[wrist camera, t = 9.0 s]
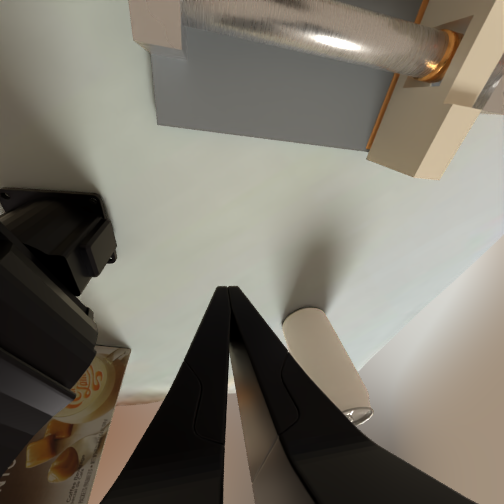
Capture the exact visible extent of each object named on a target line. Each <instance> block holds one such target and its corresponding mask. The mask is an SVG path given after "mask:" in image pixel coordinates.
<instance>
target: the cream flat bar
mask: <svg viewBox="0 0 504 504" xmlns="http://www.w3.org/2000/svg"><path fill="white" fill-rule="evenodd" d="M420 25H423V26H427V27H430V28H434V29H437V30H441V29H448V30H451V31H455V32H458V33H462V34H464V36H463V38H462V40H461V42H460V44H459V47H458V49H457V51H456V53H455V55H454V57H453V59H452V61H451V63H450V65H449V67H448V69H447V71H446V73H445V75H444V77H443V79H442V81H441V83H440V86H434V87H430V86H431V84H432V83H427V82H423V81H418V80H415V79H414V78H413V77H411V76H406V75H402V74H400V75H399V78H398V80H397V83H396V85H395V88H394V91H393V93H392V96H391V98H390V101H389V103H388V106H387V108H386V111H385V113H384V116H383V118H382V121H381V123H380V126H379V128H378V131H377V133H376V136H375V138H374V141H373V143H372V146H371V148H370V151H369V153H368V156H367V158H366V159H367V160H369V161H372V162H375V163H377V164H380V165H382V166H385V167H388V168H390V169H393V170H396V171H398V172H401V173H403V174H406V175H409V176H411V177H414V178H424V179H433V180H440V178H441V176H442V175H443V173H444V171H445V170H446V168H447V167H448V165H449V163H450V162H451V160H452V158H453V157H454V155H455V153H456V152H457V150H458V148H459V147H460V145H461V143H462V142H463V140H464V138H465V137H466V135H467V133H468V132H469V130H470V128H471V127H472V125H473V123H474V122H475V120H476V118H477V117H478V115H479V113H480V112H481V110H480V109H475V108H472V107H473V105H474V103H475V101H476V100H477V98H478V96H479V94H480V93H481V91H482V89H483V88H484V86H485V84H486V82H487V81H488V79H489V77H490V75H491V74H492V72H493V70H494V69H495V67H496V65H497V63H498V62H499V60H500V58H501V56H502V55H503V53H504V0H429V2H428V5H427V7H426V10H425V13H424V15H423V18H422V20H421V23H420Z"/></svg>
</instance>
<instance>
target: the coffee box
mask: <svg viewBox="0 0 504 504" xmlns="http://www.w3.org/2000/svg"><path fill="white" fill-rule="evenodd" d="M94 349H96V351H97V353H96V356H95V358H94V359H93V361H92V363H91V365H90V367H89V368H88V369H87V371H86V372H85V373H84V375H83V376H82V377H81V378H80V380H79V381H78V382H77V384H76V385H75V386H74V387H73V388H72V389H71V391H73V392H74V393H76V398H75V399H74V400H73V401H72V402H71V403H70V404H68V405H67V406H66V407H65V408H63V409H62V410H61V411H60V412H58V413H57V414H56V415H54V416H53V417H52V418H51V419H50V420H49V421H48V422H47V423H46V424H45V425H44V426H43V427H42V428H41V429H40V430H39V431H38V432H37V433H36V434H35V435H34V436H33V438H32V439H31V440H30V441H29V442H28V444H27V445H26V446H25V447H24V448H23V450H22V451H21V452H20V453H19V455H18V456H17V457H16V459H15V460H14V461H13V462H12V464H11V465H10V466H9V468H8V469H7V470H6V471H5V473H4V474H3V475H2V477H1V478H0V504H88V500H89V497H90V493H91V490H92V487H93V483H94V479H95V476H96V473H97V469H98V465H99V462H100V459H101V455H102V452H103V448H104V445H105V441H106V438H107V434H108V431H109V427H110V424H111V420H112V417H113V413H114V410H115V406H116V403H117V399H118V396H119V392H120V389H121V386H122V382H123V378H124V375H125V371H126V367H127V364H128V360H129V357H130V353H131V349H126V348H116V347H106V346H96V345H95V347H94Z"/></svg>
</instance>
